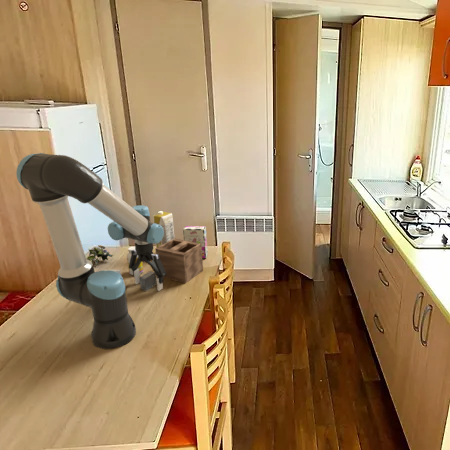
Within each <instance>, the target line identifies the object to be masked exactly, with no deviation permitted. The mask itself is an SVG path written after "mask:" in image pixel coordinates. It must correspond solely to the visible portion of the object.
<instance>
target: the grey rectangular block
mask: <svg viewBox="0 0 450 450" xmlns="http://www.w3.org/2000/svg"><path fill="white" fill-rule="evenodd" d="M156 277H157V275H156V273H155V272H154V270H153V271H152V270H149V271H148V272H146V273H145V274H143V275H140V277H139V278H140V283H139V284H140V290H141V291H145V292H147V291H149V290H150V289H151V288H153V287H155V286H157V280H156Z"/></svg>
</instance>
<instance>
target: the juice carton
mask: <svg viewBox="0 0 450 450" xmlns="http://www.w3.org/2000/svg"><path fill="white" fill-rule="evenodd" d="M152 220H153V222H152V223H156V224H158V225H161V226H162V228H163V230H164V235H163V238H162V240H161V241H160V242H159V243H157V244H155V247H156V248H157V247H159V246H161V245H163V244H165V243H167V242H168V241H170V240H172V239H174V238H175V229H174V227H175V226H174V219H173V213H172V212H168V211H162V210H160V211H158V212H157V214H153V216H152ZM156 248H155V249H156Z"/></svg>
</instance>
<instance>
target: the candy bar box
mask: <svg viewBox="0 0 450 450" xmlns="http://www.w3.org/2000/svg"><path fill="white" fill-rule="evenodd" d="M182 231H183V233H182V235H183V240H185V241H190V242H195V243H200V244H201V246H202V258H206V257H207V258H208V256H209V255H208V253H209V252H208V238H207V226H206V225H205V226H204V225H203V226H200V225H195V226H194V225H186V226H184V227H183V228H182ZM207 255H208V256H207ZM207 258H206V259H207Z"/></svg>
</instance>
